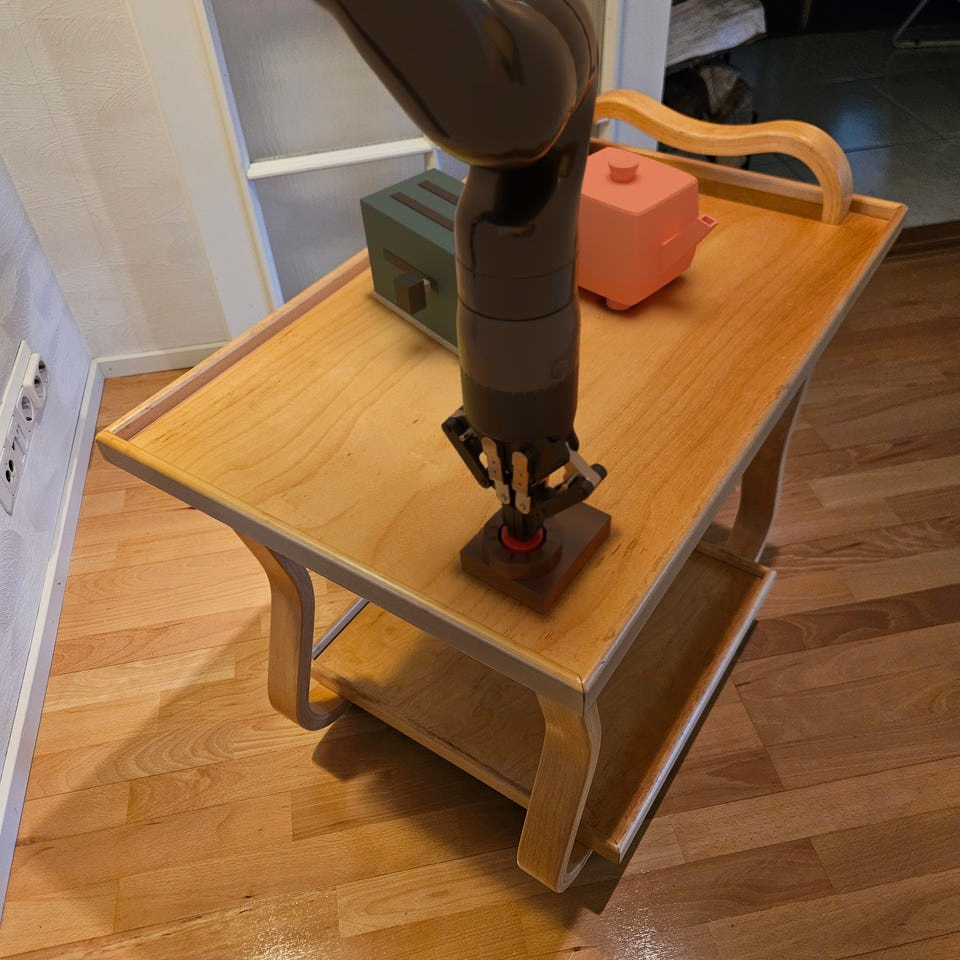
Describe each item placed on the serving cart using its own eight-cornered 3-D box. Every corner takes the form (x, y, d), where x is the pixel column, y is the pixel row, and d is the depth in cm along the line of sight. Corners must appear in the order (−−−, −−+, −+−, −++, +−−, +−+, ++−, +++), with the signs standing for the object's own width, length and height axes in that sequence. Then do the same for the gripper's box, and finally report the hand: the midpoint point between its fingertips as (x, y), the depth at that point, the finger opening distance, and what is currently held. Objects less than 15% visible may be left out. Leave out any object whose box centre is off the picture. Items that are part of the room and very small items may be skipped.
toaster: (463, 360, 86) (455, 255, 77) (372, 296, 95) (356, 197, 86) (536, 319, 90) (536, 216, 82) (443, 262, 100) (434, 164, 91)
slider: (411, 315, 83) (407, 288, 80) (397, 305, 84) (393, 278, 82) (436, 302, 84) (433, 275, 82) (422, 293, 85) (418, 266, 83)
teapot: (732, 292, 92) (756, 170, 82) (661, 343, 86) (678, 218, 76) (582, 227, 104) (586, 112, 94) (511, 268, 98) (508, 151, 88)
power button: (527, 569, 63) (527, 555, 62) (493, 551, 65) (493, 536, 63) (550, 543, 65) (551, 528, 64) (517, 525, 66) (516, 511, 65)
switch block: (543, 616, 63) (543, 584, 60) (460, 569, 67) (457, 537, 64) (610, 533, 69) (613, 500, 66) (530, 493, 72) (530, 461, 69)
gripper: (643, 353, 50) (622, 537, 63) (470, 289, 56) (482, 469, 69) (578, 422, 46) (569, 604, 59) (398, 345, 52) (425, 526, 65)
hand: (522, 531), depth 64 cm, fingers closed
